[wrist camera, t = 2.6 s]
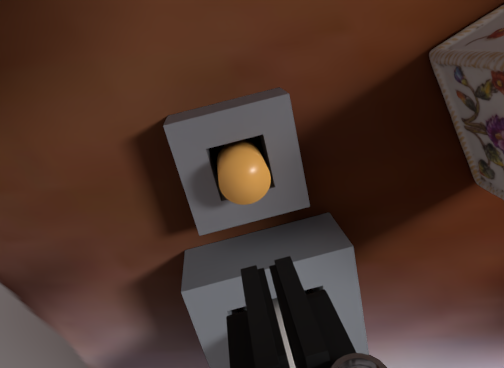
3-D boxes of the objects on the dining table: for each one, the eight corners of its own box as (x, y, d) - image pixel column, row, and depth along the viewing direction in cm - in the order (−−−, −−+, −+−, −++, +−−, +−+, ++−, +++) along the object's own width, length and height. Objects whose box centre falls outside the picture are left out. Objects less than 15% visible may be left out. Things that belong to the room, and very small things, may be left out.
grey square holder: (184, 250, 28) (180, 292, 23) (329, 212, 28) (353, 246, 24) (223, 357, 32) (226, 410, 28) (347, 323, 33) (371, 370, 28)
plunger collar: (167, 115, 24) (162, 125, 21) (279, 87, 24) (288, 93, 22) (199, 215, 27) (199, 235, 24) (299, 189, 27) (310, 206, 24)
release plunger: (211, 146, 24) (212, 163, 20) (256, 134, 24) (264, 149, 20) (223, 188, 25) (226, 210, 22) (266, 176, 25) (275, 197, 22)
